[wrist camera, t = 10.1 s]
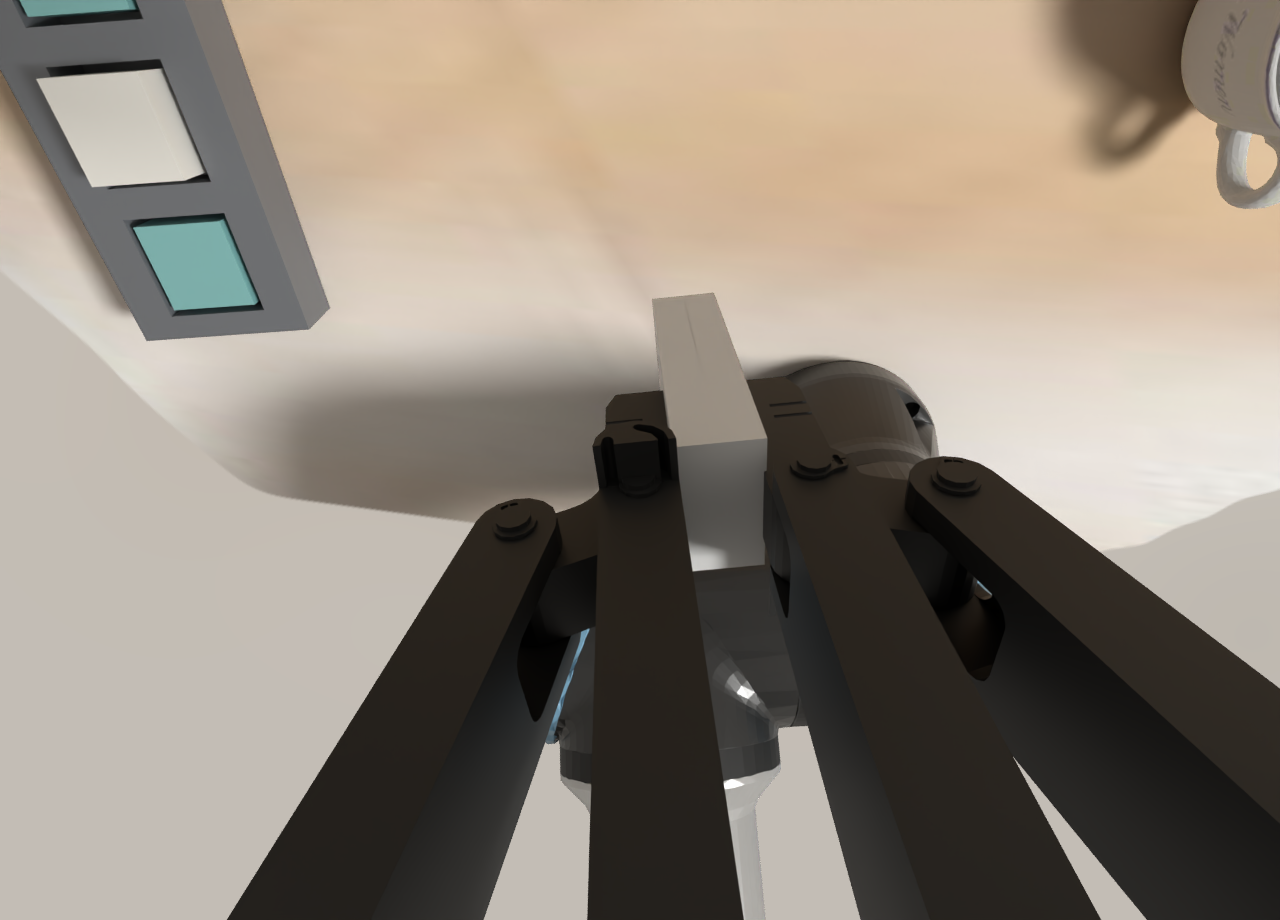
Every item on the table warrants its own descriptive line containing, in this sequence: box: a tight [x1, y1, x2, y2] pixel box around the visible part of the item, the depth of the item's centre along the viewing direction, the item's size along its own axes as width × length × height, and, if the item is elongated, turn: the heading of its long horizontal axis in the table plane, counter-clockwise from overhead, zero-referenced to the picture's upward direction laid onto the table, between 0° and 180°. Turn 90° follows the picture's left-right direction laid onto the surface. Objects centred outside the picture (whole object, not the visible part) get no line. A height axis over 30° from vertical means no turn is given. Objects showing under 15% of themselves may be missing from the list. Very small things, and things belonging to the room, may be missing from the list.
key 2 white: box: [36, 68, 207, 187], centre depth 32 cm, size 5×5×2 cm
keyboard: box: [0, 0, 330, 341], centre depth 32 cm, size 30×10×4 cm, turn 4°
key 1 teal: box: [133, 213, 260, 310], centre depth 38 cm, size 5×5×2 cm
